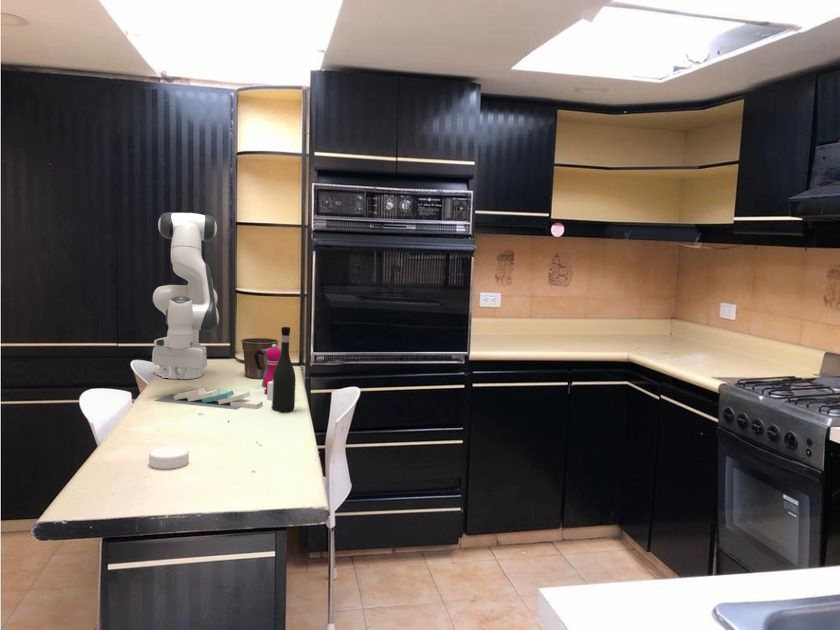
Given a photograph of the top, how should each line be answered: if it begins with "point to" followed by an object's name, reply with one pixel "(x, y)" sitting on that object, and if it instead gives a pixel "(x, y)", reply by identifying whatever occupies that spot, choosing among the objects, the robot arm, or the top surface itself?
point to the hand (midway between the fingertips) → (179, 378)
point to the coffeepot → (264, 361)
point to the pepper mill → (271, 364)
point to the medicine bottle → (269, 390)
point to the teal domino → (218, 397)
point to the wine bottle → (284, 378)
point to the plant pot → (249, 349)
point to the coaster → (168, 457)
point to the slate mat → (196, 402)
